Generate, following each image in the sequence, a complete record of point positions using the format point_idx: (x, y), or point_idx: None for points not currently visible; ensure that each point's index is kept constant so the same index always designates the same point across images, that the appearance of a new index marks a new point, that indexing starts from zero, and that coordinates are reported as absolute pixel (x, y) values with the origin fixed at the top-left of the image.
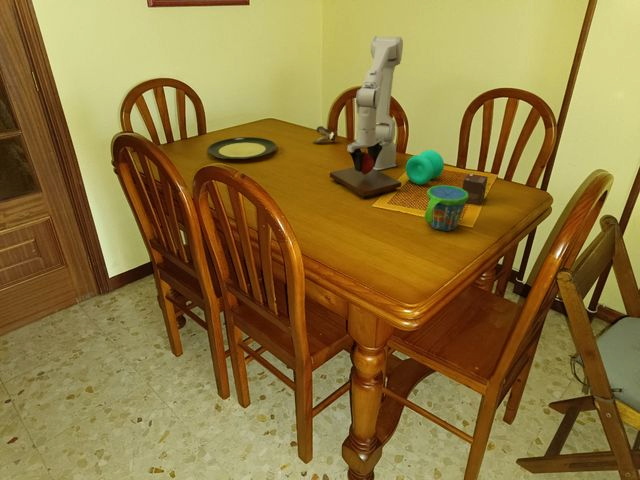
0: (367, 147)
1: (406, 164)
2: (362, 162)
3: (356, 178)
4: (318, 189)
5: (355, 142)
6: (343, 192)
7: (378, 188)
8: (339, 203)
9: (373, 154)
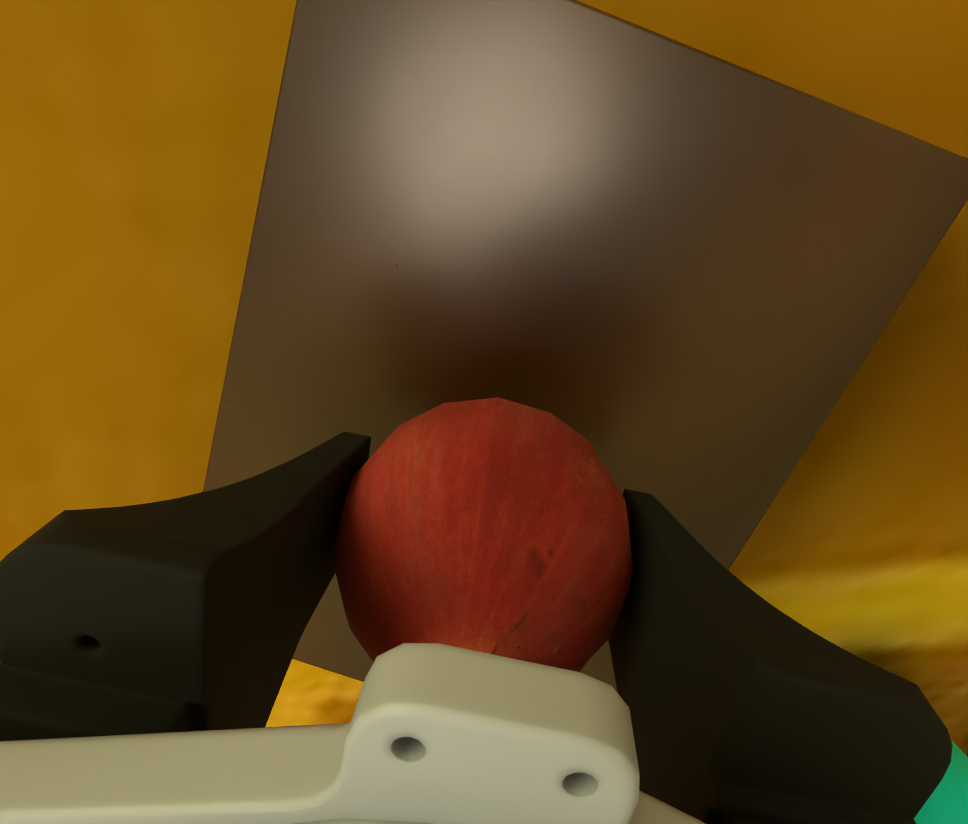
0: (726, 657)
1: (927, 808)
2: (344, 607)
3: (397, 389)
4: (50, 35)
5: (122, 802)
6: (217, 330)
7: (343, 674)
8: (26, 443)
9: (641, 708)
